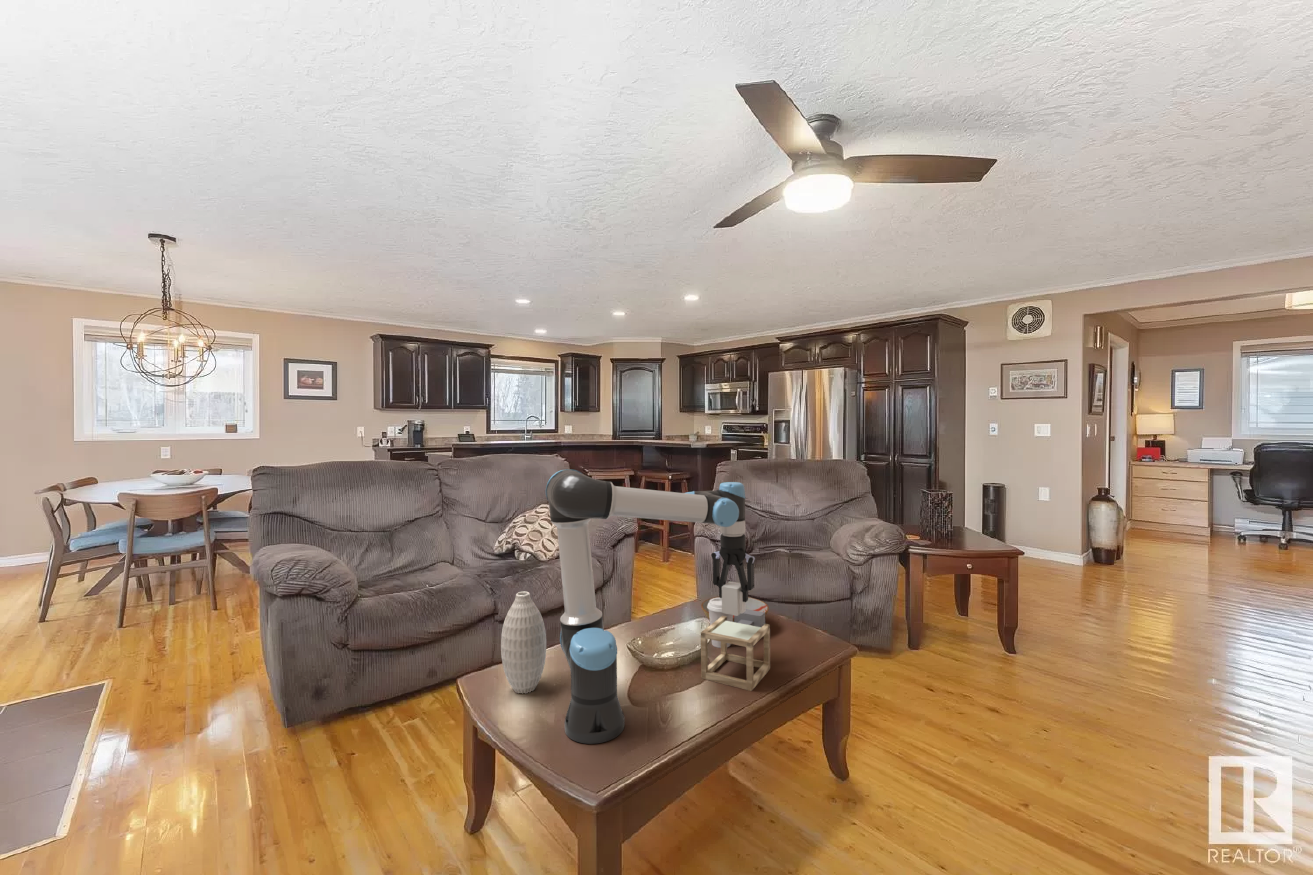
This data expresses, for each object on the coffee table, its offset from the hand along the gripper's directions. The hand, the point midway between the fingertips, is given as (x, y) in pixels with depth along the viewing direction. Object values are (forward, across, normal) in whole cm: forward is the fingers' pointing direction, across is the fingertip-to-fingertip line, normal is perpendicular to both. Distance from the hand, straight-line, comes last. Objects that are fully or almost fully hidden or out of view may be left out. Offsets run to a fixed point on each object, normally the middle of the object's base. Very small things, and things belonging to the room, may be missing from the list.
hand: (733, 610), depth 167 cm
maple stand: (+20, 0, -2) cm, 20 cm away
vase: (+20, +50, +37) cm, 66 cm away
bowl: (+21, +15, -37) cm, 45 cm away
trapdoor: (+10, 0, -6) cm, 11 cm away
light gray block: (0, 0, 0) cm, 0 cm away
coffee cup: (+20, +13, -20) cm, 31 cm away
